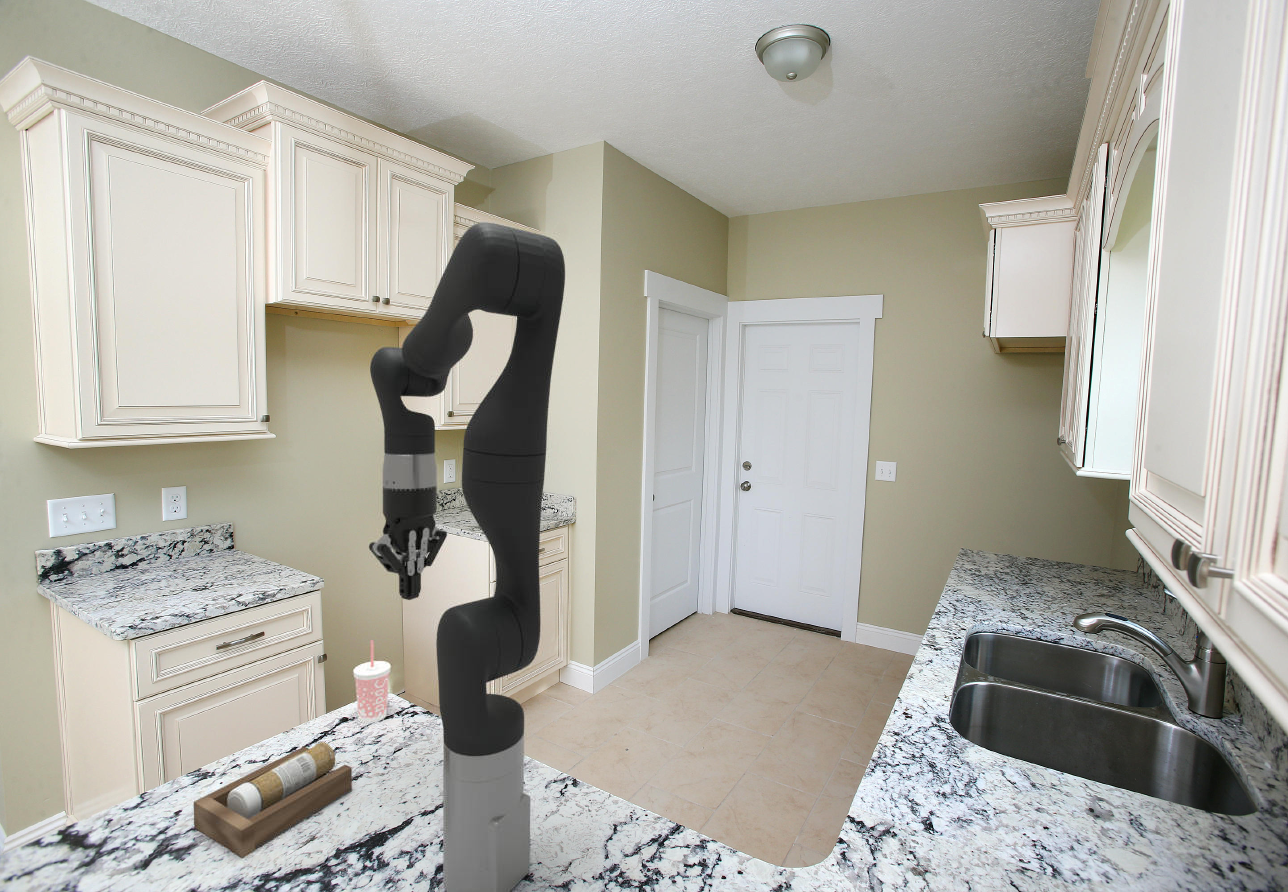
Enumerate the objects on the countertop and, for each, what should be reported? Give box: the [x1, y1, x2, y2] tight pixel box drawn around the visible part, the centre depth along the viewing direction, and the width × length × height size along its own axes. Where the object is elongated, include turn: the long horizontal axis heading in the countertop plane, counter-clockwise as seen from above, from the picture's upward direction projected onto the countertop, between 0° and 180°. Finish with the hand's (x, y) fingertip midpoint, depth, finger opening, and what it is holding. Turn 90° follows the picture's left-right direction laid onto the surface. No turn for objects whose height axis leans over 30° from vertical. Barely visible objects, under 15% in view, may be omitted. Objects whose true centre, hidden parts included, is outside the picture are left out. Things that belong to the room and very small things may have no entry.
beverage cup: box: [353, 639, 392, 724], centre depth 107 cm, size 6×6×14 cm
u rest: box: [193, 746, 353, 859], centre depth 83 cm, size 11×15×4 cm
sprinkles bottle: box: [227, 741, 336, 819], centre depth 85 cm, size 5×5×14 cm
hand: (410, 597), depth 90 cm, fingers closed
